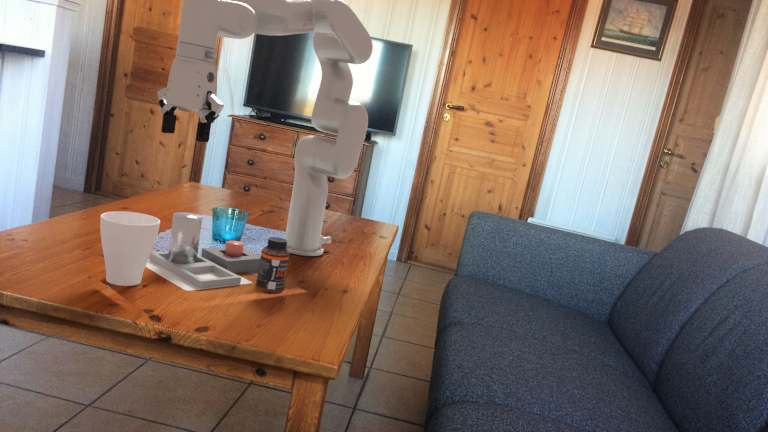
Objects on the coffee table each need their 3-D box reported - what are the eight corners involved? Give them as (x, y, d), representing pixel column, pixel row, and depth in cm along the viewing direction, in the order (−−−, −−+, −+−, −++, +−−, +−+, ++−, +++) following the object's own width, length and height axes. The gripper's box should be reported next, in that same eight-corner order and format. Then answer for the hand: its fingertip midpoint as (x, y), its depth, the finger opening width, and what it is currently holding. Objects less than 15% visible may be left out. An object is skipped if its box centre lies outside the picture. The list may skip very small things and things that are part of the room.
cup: (115, 299, 112) (123, 227, 109) (81, 281, 117) (88, 212, 114) (163, 290, 120) (172, 223, 118) (129, 274, 126) (137, 210, 123)
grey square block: (236, 261, 148) (238, 245, 147) (262, 274, 142) (264, 258, 141) (199, 265, 140) (202, 248, 140) (225, 278, 134) (228, 261, 134)
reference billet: (186, 259, 139) (192, 212, 137) (201, 267, 135) (208, 218, 133) (161, 261, 134) (168, 212, 132) (176, 269, 130) (183, 219, 128)
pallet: (200, 260, 144) (201, 249, 143) (252, 288, 131) (254, 276, 131) (134, 265, 132) (136, 253, 131) (185, 296, 119) (187, 283, 119)
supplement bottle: (277, 296, 129) (285, 244, 127) (251, 290, 130) (259, 238, 128) (287, 289, 135) (295, 239, 133) (262, 283, 136) (269, 233, 134)
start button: (235, 252, 143) (237, 240, 143) (245, 257, 141) (247, 245, 140) (220, 253, 140) (222, 241, 140) (231, 258, 138) (233, 245, 137)
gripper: (240, 63, 127) (228, 145, 130) (177, 52, 134) (167, 130, 137) (215, 57, 120) (203, 144, 123) (151, 46, 128) (141, 128, 130)
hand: (184, 137), depth 130 cm, fingers open, 9 cm apart
